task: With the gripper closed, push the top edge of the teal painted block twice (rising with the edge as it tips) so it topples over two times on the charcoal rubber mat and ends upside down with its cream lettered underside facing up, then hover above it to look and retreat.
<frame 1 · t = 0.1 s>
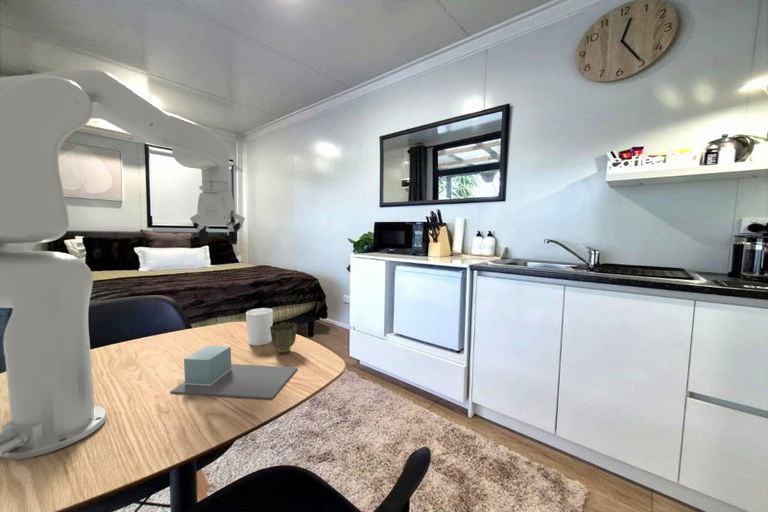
hand: (218, 244, 94), 31 cm above the table, fingers open, 9 cm apart
rubber mat: (239, 380, 70), on the table
white cup: (260, 342, 95), on the table
teal block: (209, 376, 71), resting on rubber mat
cup: (284, 352, 87), on the table
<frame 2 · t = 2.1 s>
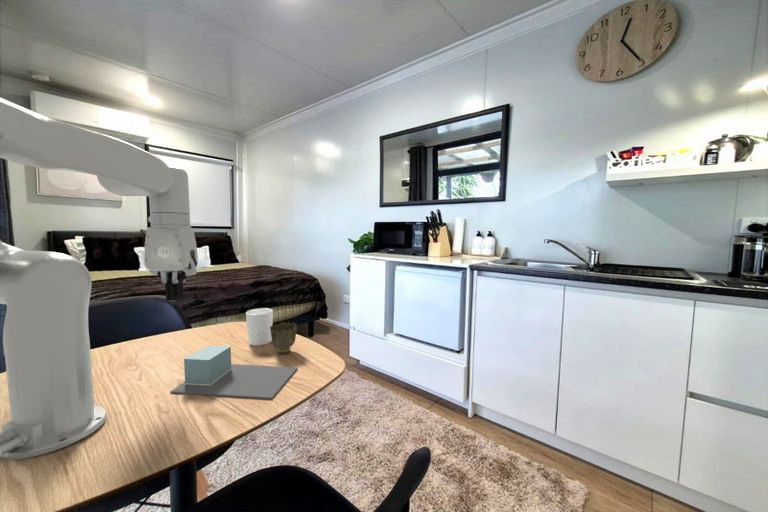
hand: (174, 299, 70), 19 cm above the table, fingers closed
nothing on the table moved.
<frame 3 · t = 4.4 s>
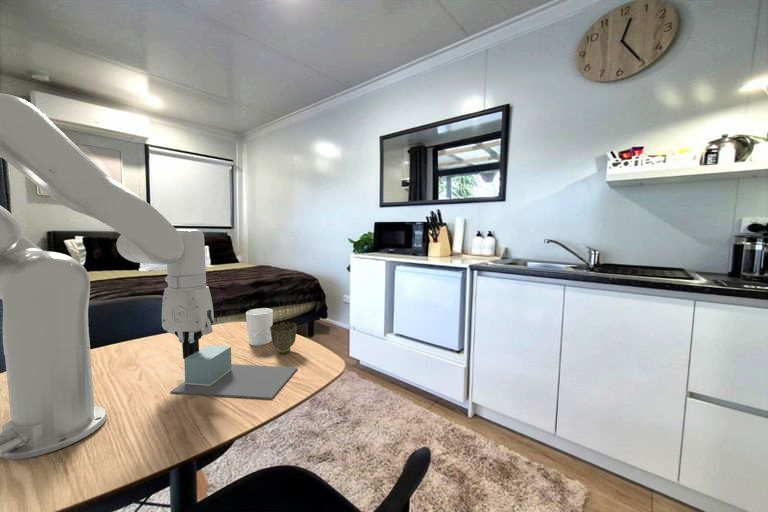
hand: (191, 356, 71), 5 cm above the table, fingers closed
teal block: (209, 376, 71), resting on rubber mat, touching gripper
everything else where it was.
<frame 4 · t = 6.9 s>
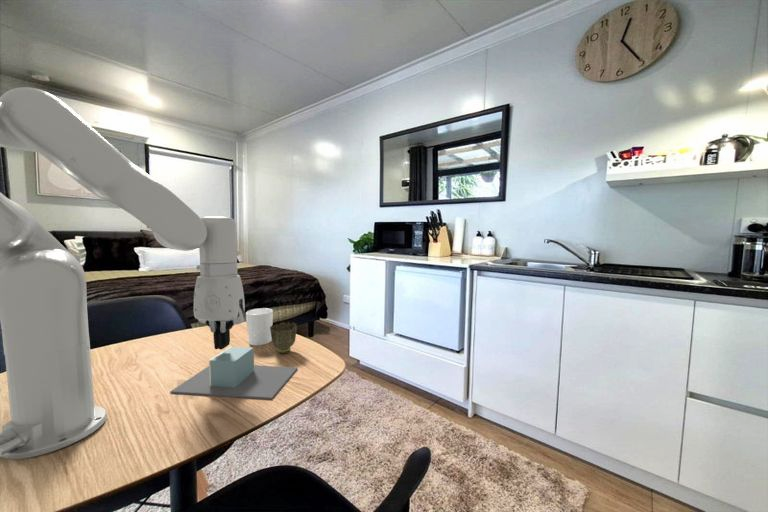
hand: (222, 346, 70), 8 cm above the table, fingers closed
teal block: (220, 365, 71), point 3 cm above the table, tilted 90°, touching rubber mat
everything else where it was.
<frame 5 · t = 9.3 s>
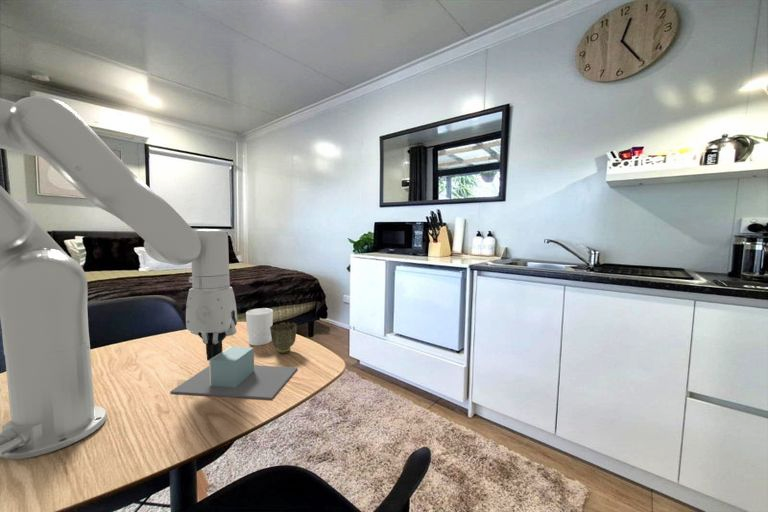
hand: (214, 358, 71), 5 cm above the table, fingers closed
teal block: (220, 365, 71), point 3 cm above the table, tilted 90°, touching gripper, rubber mat
everything else where it was.
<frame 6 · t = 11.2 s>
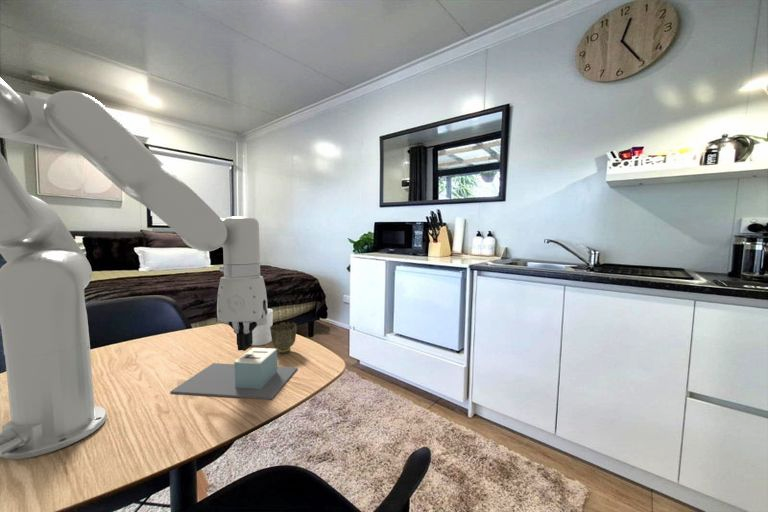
hand: (244, 348, 70), 8 cm above the table, fingers closed
teal block: (256, 354, 70), point 6 cm above the table, tilted 180°, touching rubber mat
everything else where it was.
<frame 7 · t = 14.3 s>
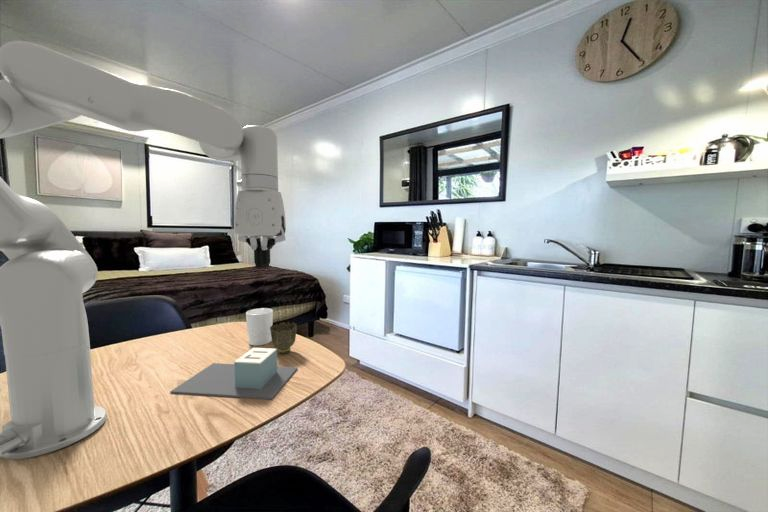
hand: (262, 267, 68), 27 cm above the table, fingers closed
nothing on the table moved.
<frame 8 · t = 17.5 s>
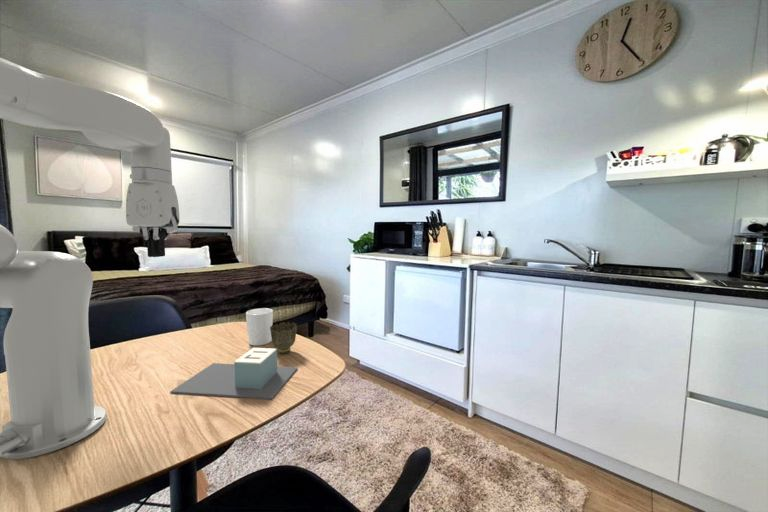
hand: (156, 256, 71), 29 cm above the table, fingers closed
nothing on the table moved.
at the end: teal block tilted 180°; teal block point 6.4 cm above the table; teal block inside the target area (1.5 cm from its centre), point 6.4 cm above the table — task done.
